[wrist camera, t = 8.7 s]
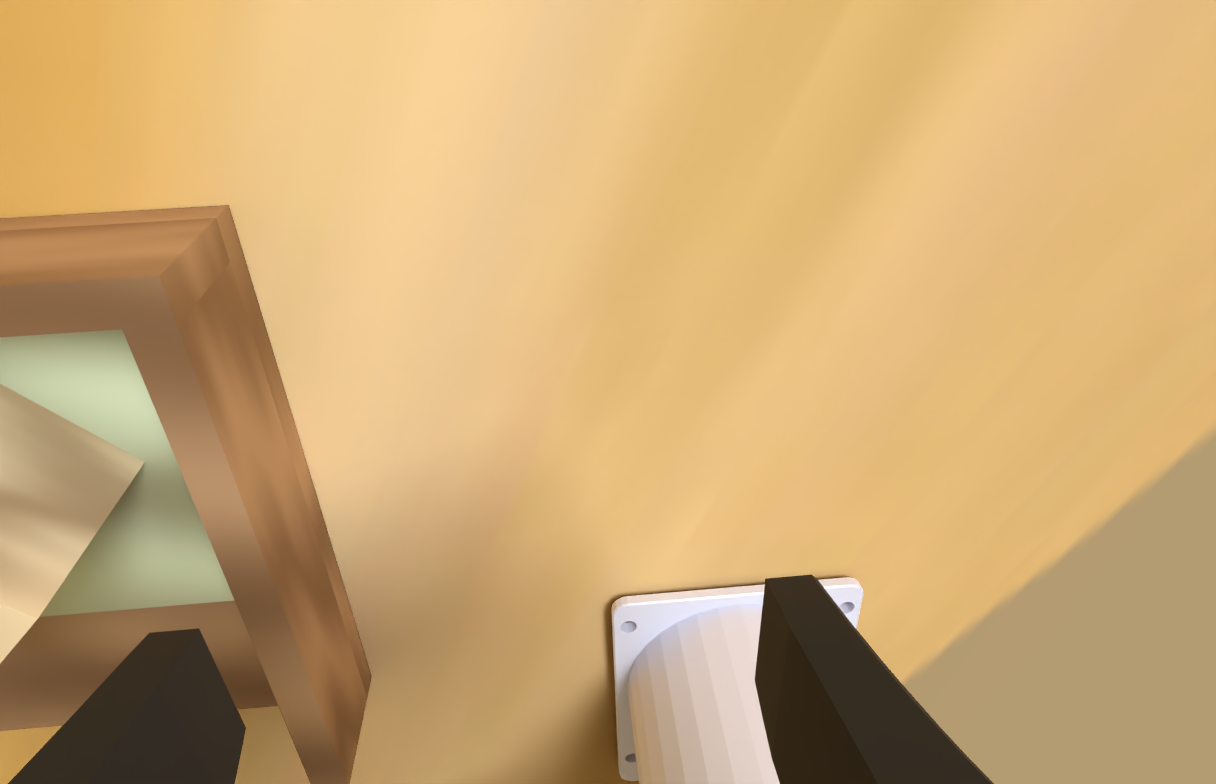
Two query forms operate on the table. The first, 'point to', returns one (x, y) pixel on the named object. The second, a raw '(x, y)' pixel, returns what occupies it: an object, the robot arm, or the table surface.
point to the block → (48, 505)
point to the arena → (177, 475)
